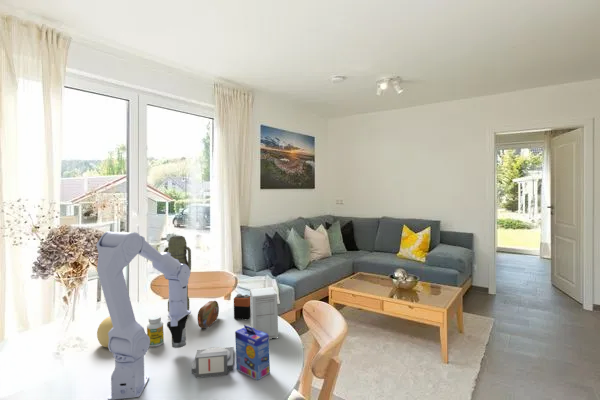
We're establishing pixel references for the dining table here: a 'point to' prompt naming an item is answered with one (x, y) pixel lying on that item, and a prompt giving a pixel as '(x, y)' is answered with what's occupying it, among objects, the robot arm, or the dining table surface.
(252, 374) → the ink cartridge box
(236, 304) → the battery
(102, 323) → the sculpture
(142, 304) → the dining table surface
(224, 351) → the scale
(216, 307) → the tin
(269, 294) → the white tall box
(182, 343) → the silver metal cylinder
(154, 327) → the supplement bottle
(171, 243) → the thermos
